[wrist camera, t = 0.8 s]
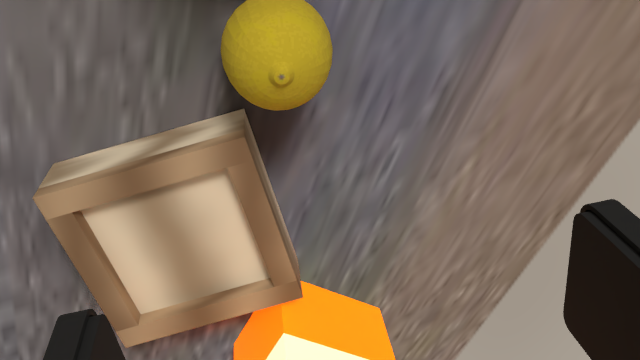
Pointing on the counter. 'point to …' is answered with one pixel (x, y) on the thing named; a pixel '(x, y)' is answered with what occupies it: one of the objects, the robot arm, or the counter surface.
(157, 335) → the square wooden box
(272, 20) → the lemon
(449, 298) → the counter surface
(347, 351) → the orange juice
